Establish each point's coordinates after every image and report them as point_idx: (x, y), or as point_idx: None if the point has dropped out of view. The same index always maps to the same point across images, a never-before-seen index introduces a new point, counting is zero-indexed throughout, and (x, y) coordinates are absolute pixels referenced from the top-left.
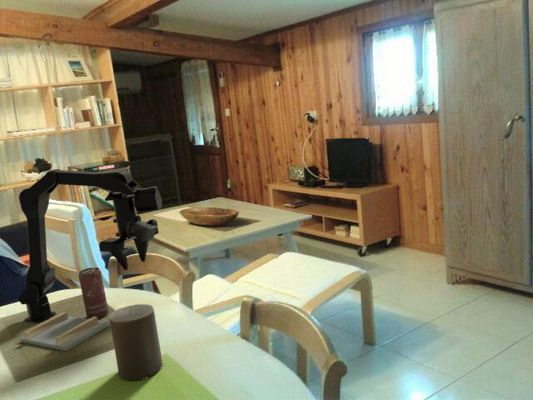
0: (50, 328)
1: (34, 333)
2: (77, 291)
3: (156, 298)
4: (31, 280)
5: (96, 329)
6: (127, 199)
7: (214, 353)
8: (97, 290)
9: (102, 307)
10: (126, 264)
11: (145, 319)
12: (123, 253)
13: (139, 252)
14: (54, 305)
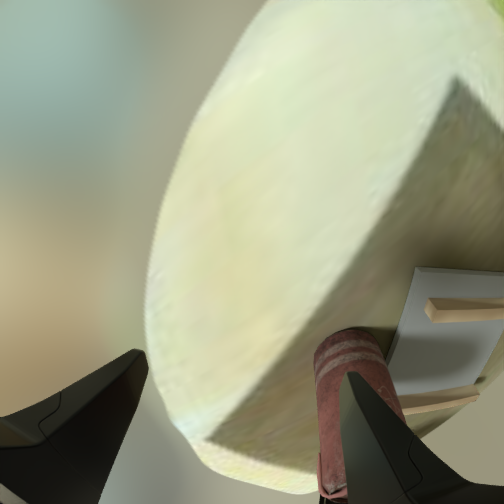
0: (432, 390)
1: (465, 390)
2: (213, 458)
3: (177, 241)
4: None
5: (460, 273)
6: None
7: None
8: (386, 400)
9: (365, 348)
10: (376, 402)
11: None
12: (462, 490)
13: (118, 431)
14: (290, 459)
